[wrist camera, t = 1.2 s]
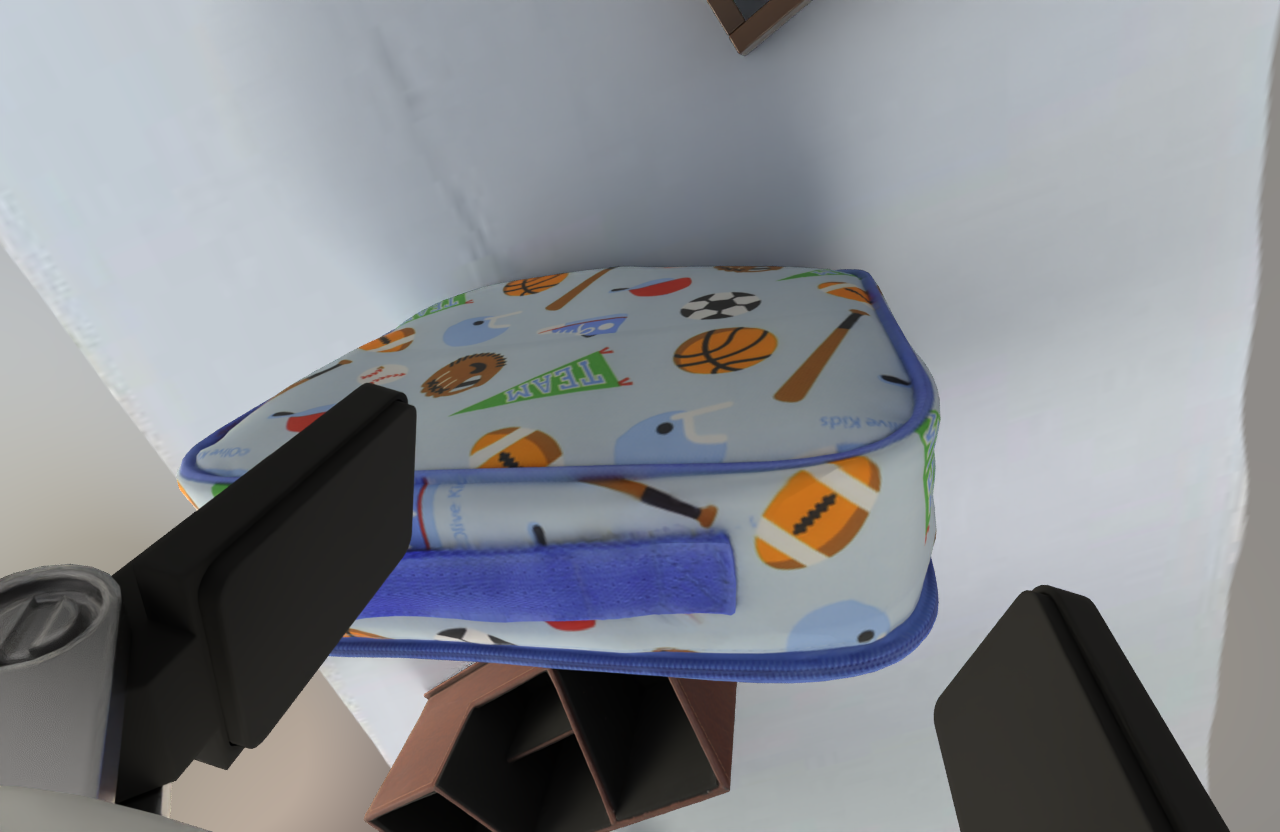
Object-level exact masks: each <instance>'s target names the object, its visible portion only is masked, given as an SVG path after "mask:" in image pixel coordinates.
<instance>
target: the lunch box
mask: <svg viewBox="0 0 1280 832" xmlns="http://www.w3.org/2000/svg"><path fill="white" fill-rule="evenodd" d="M364 383H373V384H376V385H380V386H383V387H386V388H390V389H393V390H396V391H400V392H403V393H404V394H406V396H407V399H408V404H410V405H413V406H414V407H415V408H416V411H417V423H416V447H415V472H414V497H413V522H412V537H411V541H410V544H409V547H408V549H407V551H406V553H405V555H404V557H403V558H402V559H401V561H400V562H399V563H398V565H397V566H396V567H395V569H394V570H393V571H392V573H391V574H390V575H389V577H388V578H387V579H386V581H385V582H384V583H383V585H382V586H381V587H380V588H379V590H378V591H377V592H376V594H375V595H374V596H373V598H372V599H371V600H370V602H369V603H368V604H367V606H366V607H365V608H364V610H363V611H362V612H361V613H360V615H359V616H358V617H357V619H356V620H355V621H354V623H353V624H352V625H351V627H350V628H349V629H348V631H347V632H346V633H345V635H344V636H343V637H342V638H341V640H340V641H339V642H338V644H337V645H336V646H335V648H334V649H333V650H332V652H331V653H330V654H329V656H337V657H390V658H417V659H436V660H454V661H471V662H488V663H500V664H511V665H522V666H533V667H543V668H554V669H567V670H583V671H598V672H611V673H625V674H638V675H653V676H666V677H678V678H690V679H701V680H713V681H731V682H750V683H804V682H820V681H828V680H835V679H842V678H849V677H855V676H859V675H863V674H867V673H871V672H875V671H878V670H880V669H883V668H885V667H887V666H890V665H892V664H895V663H897V662H898V661H900V660H902V659H903V658H905V657H906V656H907V655H909V654H910V653H911V652H913V651H914V650H915V649H916V648H917V647H918V646H919V645H920V643H921V642H922V641H923V640H924V639H925V638H926V637H927V635H928V634H929V632H930V631H931V629H932V627H933V625H934V622H935V620H936V617H937V613H938V603H939V602H938V588H937V582H936V577H935V572H934V567H933V563H932V559H931V554H932V550H933V546H934V542H935V539H936V519H935V507H934V500H933V488H934V481H935V454H934V448H935V443H936V439H937V434H938V430H939V424H940V399H939V394H938V389H937V386H936V384H935V381H934V378H933V376H932V374H931V373H930V371H929V369H928V368H927V366H926V364H925V363H924V362H923V361H922V359H921V358H920V357H919V356H918V355H917V353H916V352H915V351H914V350H913V348H912V347H911V346H910V344H909V343H908V341H907V339H906V338H905V336H904V334H903V332H902V330H901V329H900V327H899V325H898V324H897V322H896V320H895V318H894V316H893V314H892V312H891V310H890V308H889V306H888V304H887V302H886V300H885V298H884V296H883V294H882V292H881V290H880V288H879V286H878V285H877V283H876V282H875V281H874V279H873V278H872V276H871V275H870V274H869V273H868V272H866V271H863V270H857V269H843V270H829V269H820V268H800V267H777V266H707V267H629V266H622V267H610V268H602V269H593V270H585V271H578V272H570V273H562V274H556V275H549V276H543V277H536V278H530V279H523V280H516V281H510V282H504V283H499V284H494V285H490V286H486V287H483V288H479V289H476V290H473V291H469V292H466V293H463V294H460V295H457V296H455V297H452V298H449V299H446V300H443V301H441V302H439V303H437V304H434V305H432V306H430V307H428V308H426V309H424V310H423V311H421V312H419V313H417V314H415V315H414V316H412V317H411V318H409V319H408V320H406V321H405V322H403V323H402V324H401V325H400V326H398V327H397V328H396V329H394V330H392V331H390V332H388V333H387V334H385V335H383V336H382V337H380V338H378V339H376V340H374V341H371V342H369V343H367V344H365V345H363V346H361V347H359V348H357V349H355V350H353V351H351V352H349V353H347V354H345V355H344V356H342V357H340V358H338V359H337V360H335V361H333V362H331V363H329V364H327V365H325V366H324V367H322V368H320V369H318V370H316V371H314V372H313V373H311V374H309V375H308V376H306V377H304V378H302V379H301V380H299V381H297V382H295V383H294V384H292V385H290V386H289V387H287V388H286V389H284V390H283V391H281V392H280V393H278V394H277V395H276V396H274V397H272V398H271V399H269V400H267V401H265V402H264V403H262V404H260V405H258V406H257V407H255V408H253V409H252V410H250V411H248V412H247V413H245V414H243V415H242V416H240V417H238V418H237V419H235V420H233V421H232V422H230V423H228V424H227V425H225V426H223V427H222V428H220V429H218V430H217V431H215V432H214V433H212V434H211V435H209V436H208V437H207V438H205V439H204V440H202V441H201V442H199V443H198V444H196V445H195V446H194V447H193V448H192V449H191V450H190V451H189V452H188V453H187V454H186V456H185V457H184V458H183V460H182V464H181V466H180V467H179V469H178V470H177V476H176V478H177V482H178V486H179V488H180V490H181V492H182V493H183V494H184V495H185V497H186V498H187V499H188V500H189V501H190V502H191V504H192V505H193V506H194V507H195V508H196V509H197V510H198V509H200V508H201V507H202V506H203V505H205V504H206V503H207V502H209V501H210V500H211V499H213V498H214V497H215V496H216V495H218V494H219V493H220V492H222V491H223V490H224V489H226V488H227V487H228V486H230V485H231V484H232V483H233V482H235V481H236V480H237V479H239V478H240V477H241V476H243V475H244V474H245V473H247V472H248V471H249V470H250V469H252V468H253V467H254V466H256V465H257V464H258V463H260V462H261V461H262V460H263V459H265V458H266V457H267V456H269V455H270V454H272V453H273V452H275V451H276V450H277V449H278V448H280V447H281V446H282V445H284V444H285V443H286V442H288V441H289V440H290V439H291V438H293V437H294V436H295V435H297V434H298V433H299V432H301V431H302V430H303V429H305V428H306V427H307V426H308V425H310V424H311V423H312V422H314V421H315V420H316V419H318V418H319V417H320V416H322V415H323V414H324V413H325V412H327V411H328V410H329V409H331V408H332V407H333V406H335V405H336V404H337V403H338V402H340V401H341V400H342V399H344V398H345V397H346V396H348V395H349V394H350V393H352V392H353V391H354V390H355V389H357V388H358V387H359V386H361V385H362V384H364Z"/></svg>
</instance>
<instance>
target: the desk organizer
mask: <svg viewBox="0 0 1280 832" xmlns="http://www.w3.org/2000/svg"><path fill="white" fill-rule="evenodd" d="M736 687H737V682H731V681H713V680H701V679H690V678H678V677H666V676H653V675H638V674H625V673H611V672H598V671H583V670H567V669H554V668H543V667H533V666H522V665H511V664H500V663H488V662H476V663H474V664H473V665H471V666H469V667H468V668H466V669H465V670H463V671H461V672H460V673H458V674H457V675H455V676H453V677H451V678H450V679H448V680H446V681H445V682H443V683H441V684H440V685H438V686H437V687H435V688H433V689H432V690H430V691H428V692H427V693H425V694H424V697H425V698H427V699H428V701H427V703H426V705H425V707H424V709H423V711H422V713H421V715H420V717H419V719H418V721H417V723H416V725H415V726H414V728H413V730H412V732H411V734H410V735H409V737H408V739H407V741H406V743H405V745H404V746H403V748H402V750H401V752H400V754H399V755H398V757H397V759H396V761H395V762H394V764H393V766H392V768H391V770H390V771H389V773H388V775H387V777H386V779H385V780H384V782H383V784H382V785H381V788H380V789H379V791H378V793H377V794H376V796H375V798H374V800H373V802H372V804H371V805H370V807H369V809H368V811H367V812H366V814H365V817H364V821H365V822H367V823H368V824H369V825H371V826H372V827H374V828H375V829H377V830H378V831H379V832H609V831H612V830H615V829H618V828H622V827H625V826H628V825H631V824H634V823H637V822H640V821H643V820H646V819H649V818H652V817H655V816H658V815H661V814H664V813H667V812H670V811H673V810H676V809H679V808H682V807H685V806H688V805H691V804H694V803H698V802H701V801H704V800H706V799H709V798H712V797H715V796H718V795H721V794H724V793H726V792H729V791H730V782H731V765H732V751H733V734H734V721H735V704H736Z"/></svg>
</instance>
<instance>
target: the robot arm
mask: <svg viewBox="0 0 1280 832" xmlns="http://www.w3.org/2000/svg"><path fill="white" fill-rule="evenodd" d="M416 423H417V411H416V408H415V407H414V406H413V405H410V404H408V399H407V396H406V394H404V393H403V392H400V391H396V390H393V389H390V388H386V387H383V386H380V385H376V384H373V383H364V384H362V385H361V386H359V387H358V388H357V389H355V390H354V391H353V392H352V393H350V394H349V395H348V396H346V397H345V398H344V399H342V400H341V401H340V402H338V403H337V404H336V405H335V406H333V407H332V408H331V409H329V410H328V411H327V412H325V413H324V414H323V415H322V416H320V417H319V418H318V419H316V420H315V421H314V422H312V423H311V424H310V425H308V426H307V427H306V428H305V429H303V430H302V431H301V432H299V433H298V434H297V435H295V436H294V437H293V438H291V439H290V440H289V441H288V442H286V443H285V444H284V445H282V446H281V447H280V448H278V449H277V450H276V451H275V452H273V453H272V454H270V455H269V456H267V457H266V458H265V459H263V460H262V461H261V462H260V463H258V464H257V465H256V466H254V467H253V468H252V469H250V470H249V471H248V472H247V473H245V474H244V475H243V476H241V477H240V478H239V479H237V480H236V481H235V482H233V483H232V484H231V485H230V486H228V487H227V488H226V489H224V490H223V491H222V492H220V493H219V494H218V495H216V496H215V497H214V498H213V499H211V500H210V501H209V502H207V503H206V504H205V505H203V506H202V507H201V508H200V509H198V510H197V511H196V512H194V513H193V514H192V515H191V516H189V517H188V518H186V519H185V520H184V521H183V522H181V523H180V524H179V525H177V526H176V527H175V528H173V529H172V530H171V531H170V532H168V533H167V534H166V535H164V536H163V537H162V538H160V539H159V540H158V541H156V542H155V543H154V544H152V545H151V546H150V547H149V548H147V549H146V550H145V551H144V552H142V553H141V554H139V555H138V556H137V557H136V558H134V559H133V560H132V561H130V562H129V563H128V564H127V565H125V566H124V567H123V568H121V569H120V570H119V571H117V572H116V573H115V574H113V575H112V576H111V575H110V574H108V573H106V572H104V571H101V570H99V569H96V568H94V567H90V566H82V565H73V564H65V565H52V566H41V567H37V568H33V569H29V570H25V571H21V572H17V573H13V574H11V575H8V576H6V577H3V578H1V579H0V832H212V831H208V830H205V829H202V828H198V827H196V826H192V825H189V824H186V823H183V822H180V821H177V820H173V819H170V814H171V792H172V782H174V781H176V780H177V779H178V778H179V777H180V775H181V774H182V773H183V772H184V771H185V769H186V768H187V767H188V766H189V765H190V763H191V762H192V761H193V760H194V759H195V760H198V761H200V762H203V763H206V764H209V765H213V766H215V767H218V768H222V769H224V770H228V768H229V767H230V766H231V764H232V763H233V762H234V761H235V759H236V758H237V757H238V755H239V754H240V753H241V752H242V750H243V749H244V748H245V747H246V748H249V749H253V748H255V747H257V746H258V745H259V744H260V743H262V742H263V740H264V739H265V738H266V737H267V736H268V735H269V733H270V732H271V731H272V729H273V728H274V727H275V725H276V724H277V723H278V721H279V720H280V719H281V717H282V716H283V715H284V714H285V712H286V711H287V710H288V708H289V707H290V706H291V704H292V703H293V702H294V700H295V699H296V698H297V696H298V695H299V694H300V692H301V691H302V690H303V688H304V687H305V686H306V685H307V683H308V682H309V681H310V679H311V678H312V677H313V675H314V674H315V673H316V671H317V670H318V669H319V667H320V666H321V665H322V664H323V662H324V661H325V660H326V658H327V657H328V656H329V654H330V653H331V652H332V650H333V649H334V648H335V646H336V645H337V644H338V642H339V641H340V640H341V638H342V637H343V636H344V635H345V633H346V632H347V631H348V629H349V628H350V627H351V625H352V624H353V623H354V621H355V620H356V619H357V617H358V616H359V615H360V613H361V612H362V611H363V610H364V608H365V607H366V606H367V604H368V603H369V602H370V600H371V599H372V598H373V596H374V595H375V594H376V592H377V591H378V590H379V588H380V587H381V586H382V585H383V583H384V582H385V581H386V579H387V578H388V577H389V575H390V574H391V573H392V571H393V570H394V569H395V567H396V566H397V565H398V563H399V562H400V561H401V559H402V558H403V557H404V555H405V553H406V551H407V549H408V547H409V544H410V541H411V537H412V522H413V497H414V472H415V447H416ZM934 724H935V729H936V733H937V737H938V741H939V745H940V749H941V753H942V757H943V761H944V765H945V770H946V774H947V778H948V782H949V786H950V790H951V794H952V798H953V802H954V807H955V811H956V815H957V819H958V823H959V827H960V831H961V832H1230V831H1229V829H1228V827H1227V826H1226V824H1225V822H1224V821H1223V819H1222V817H1221V816H1220V814H1219V812H1218V811H1217V809H1216V807H1215V806H1214V804H1213V802H1212V801H1211V799H1210V797H1209V796H1208V794H1207V792H1206V790H1205V789H1204V787H1203V785H1202V784H1201V782H1200V780H1199V779H1198V777H1197V775H1196V774H1195V772H1194V770H1193V769H1192V767H1191V765H1190V764H1189V762H1188V760H1187V759H1186V757H1185V755H1184V754H1183V752H1182V750H1181V749H1180V747H1179V745H1178V744H1177V742H1176V740H1175V738H1174V737H1173V735H1172V733H1171V732H1170V730H1169V728H1168V727H1167V725H1166V723H1165V722H1164V720H1163V718H1162V717H1161V715H1160V713H1159V712H1158V710H1157V708H1156V707H1155V705H1154V703H1153V702H1152V700H1151V698H1150V697H1149V695H1148V693H1147V692H1146V690H1145V688H1144V687H1143V685H1142V683H1141V681H1140V680H1139V678H1138V676H1137V675H1136V673H1135V671H1134V670H1133V668H1132V666H1131V665H1130V663H1129V661H1128V660H1127V658H1126V656H1125V655H1124V653H1123V651H1122V650H1121V648H1120V646H1119V645H1118V643H1117V641H1116V640H1115V638H1114V636H1113V635H1112V633H1111V631H1110V629H1109V628H1108V626H1107V624H1106V623H1105V621H1104V619H1103V618H1102V616H1101V614H1100V613H1099V611H1098V609H1097V608H1096V606H1095V605H1094V603H1093V602H1092V601H1091V600H1090V599H1089V598H1087V597H1085V596H1082V595H1079V594H1075V593H1072V592H1069V591H1065V590H1062V589H1059V588H1055V587H1052V586H1049V585H1040V586H1038V587H1036V588H1034V589H1033V590H1032V591H1029V590H1026V591H1024V592H1022V593H1021V594H1020V595H1019V596H1018V597H1017V598H1016V599H1015V601H1014V602H1013V603H1012V604H1011V606H1010V607H1009V608H1008V610H1007V611H1006V612H1005V613H1004V615H1003V616H1002V617H1001V619H1000V620H999V621H998V622H997V624H996V625H995V626H994V628H993V629H992V630H991V631H990V633H989V634H988V635H987V637H986V638H985V639H984V640H983V642H982V643H981V644H980V645H979V647H978V648H977V649H976V651H975V652H974V653H973V654H972V656H971V657H970V658H969V660H968V661H967V662H966V663H965V665H964V666H963V667H962V669H961V670H960V671H959V672H958V674H957V675H956V676H955V678H954V679H953V680H952V681H951V683H950V684H949V685H948V686H947V688H946V689H945V690H944V692H943V693H942V694H941V695H940V697H939V698H938V700H937V702H936V705H935V709H934Z"/></svg>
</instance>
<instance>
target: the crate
mask: <svg viewBox="0 0 1280 832" xmlns="http://www.w3.org/2000/svg"><path fill="white" fill-rule="evenodd" d="M811 1H813V0H770V1H769V2H767V3H766V4H765V5H764V6H763V7H762V8H760V9H759V10H758V11H757V12H756V13H755V14H753V15H752V16H751V17H750V18H749V19H748V20H745V19H744V17H743V15H742V14H741V12H740V10H739V8H738V7H737V5H736V3H735V2H734V0H707V2H708V4H709V5H710V7H711V9H712V10H713V12H714V14H715V15H716V17H717V19H718V20H719V22H720V24H721V25H722V27H723V28H724V30H725V32H726V33H727V35H728V36H729V38H730V40H731V42H732V43H733V45H734V47H735V48H736V50H737V52H738V53H739V54H741V55H743V56H746V55H748V54H749V53H750V52H751V51H752V50H754V49H755V48H756V47H757V46H758V45H760V44H761V43H762V42H763V41H764V40H766V39H767V38H768V37H769V36H770V35H772V34H773V33H774V32H775V31H777V30H778V29H779V28H780V27H781V26H783V25H784V24H785V23H786V22H787V21H789V20H790V19H791V18H792V17H793V16H795V15H796V14H797V13H798V12H799V11H801V10H802V9H803V8H804V7H805V6H807V5H808V4H809V3H810V2H811Z"/></svg>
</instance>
